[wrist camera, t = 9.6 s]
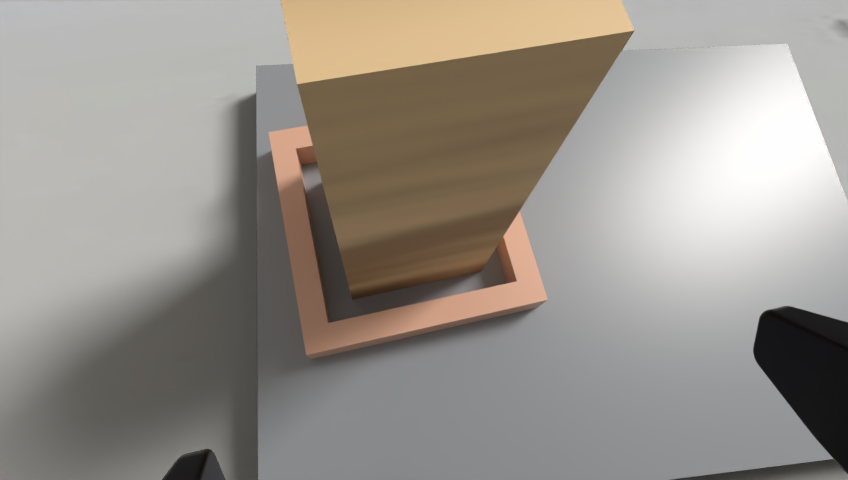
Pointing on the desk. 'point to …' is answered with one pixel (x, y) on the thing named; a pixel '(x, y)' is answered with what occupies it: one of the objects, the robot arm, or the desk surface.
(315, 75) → the oak pillar
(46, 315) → the desk surface
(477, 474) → the baseplate
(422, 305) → the socket collar
